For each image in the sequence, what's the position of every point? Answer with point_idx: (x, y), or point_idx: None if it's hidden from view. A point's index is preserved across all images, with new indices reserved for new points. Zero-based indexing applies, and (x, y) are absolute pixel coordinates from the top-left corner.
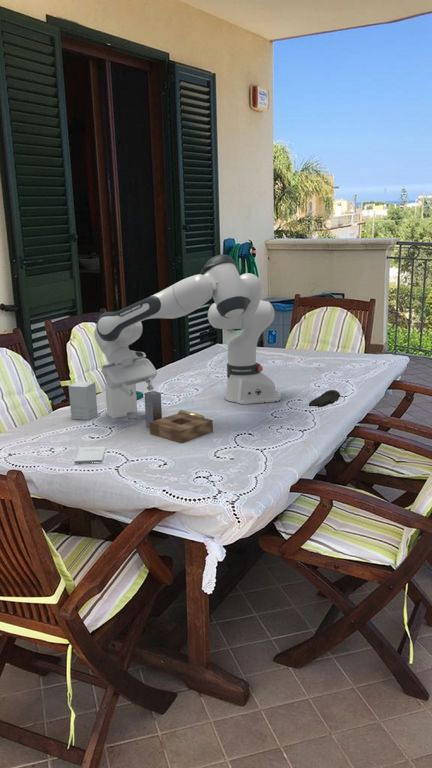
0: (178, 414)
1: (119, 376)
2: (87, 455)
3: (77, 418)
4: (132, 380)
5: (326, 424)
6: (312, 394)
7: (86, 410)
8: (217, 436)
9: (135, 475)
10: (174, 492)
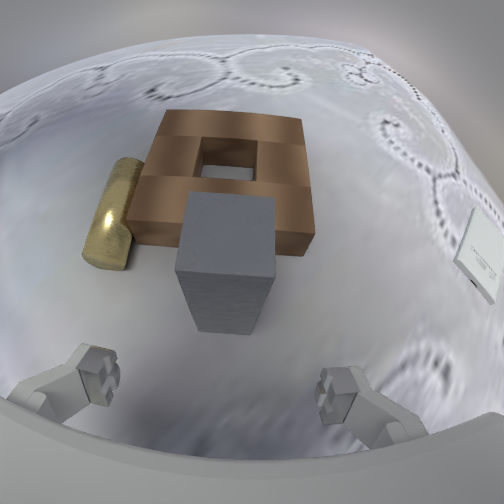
0: (159, 209)
1: (474, 487)
2: (492, 245)
3: None
4: (287, 461)
5: (66, 70)
6: None
7: None
8: None
9: (438, 138)
10: (410, 90)
